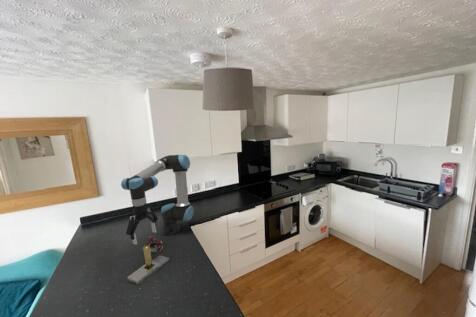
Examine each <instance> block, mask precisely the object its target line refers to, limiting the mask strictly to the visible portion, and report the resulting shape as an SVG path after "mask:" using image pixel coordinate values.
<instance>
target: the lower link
mask: <svg viewBox="0 0 476 317" xmlns="http://www.w3.org/2000/svg"><path fill="white" fill-rule="evenodd" d="M168 261H170V258H169V257H167V256H163V255H160V254H159V255H158V256H156V257H155V258H153V259H152V262H155V263H158V264H160V266H159V267H157V268H156V269H155V270H154V271H152V272H151V273H150V274H149V276H151V275H152V274H154V273H155V272H156V271H157V270H158V269H159V268H160V267H162V266H163V265H165V263H167V262H168ZM153 266H154V265H153ZM145 269H146V268H145Z"/></svg>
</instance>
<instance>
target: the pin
mask: <svg viewBox="0 0 476 317" xmlns="http://www.w3.org/2000/svg"><path fill="white" fill-rule="evenodd" d="M142 249H143V256H144V261H145V264H146V269H147V270H149V269H151V268H152V267H153V264H152V260H153V259H152V258H153V257H152V253H151V252H150V246H149V245H146V246H145V245H144V246H143V247H142Z"/></svg>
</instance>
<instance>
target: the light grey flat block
mask: <svg viewBox="0 0 476 317" xmlns="http://www.w3.org/2000/svg"><path fill="white" fill-rule="evenodd" d="M152 264H153V265H154V266H153V267H152V268H151V269H149V270H147V269H145V268H146V263H145V264H143V265H142V266H140V267H139V268H138V269H137V270H135V271H134V272H132V273H131V274H130V275H128V276H127V277H126V279H127V281H129V282H131V283H133V284H135V285H140V284H141V283H142V282H143V281H144V280H146V279H147V278H149V277H150V275H149V274H150V273H151V272H152V271H154V270H155V269H156V268H157V267H159V266H160V264H158V263H155V262H152ZM159 268H160V267H159ZM154 272H155V271H154Z"/></svg>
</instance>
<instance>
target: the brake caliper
mask: <svg viewBox="0 0 476 317" xmlns="http://www.w3.org/2000/svg"><path fill="white" fill-rule="evenodd" d="M146 245H149V246H150V252H151V254H156V253H157V252H158V253H159V252H161V250H163V247H164V246H163V241H162V240H159V239H158V238H157V237H155V236H154V235H150V236H149V238H148V239H147V241H146V242H145V245H144V246H146Z"/></svg>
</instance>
